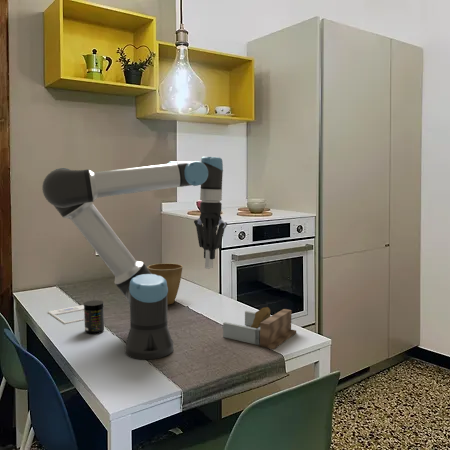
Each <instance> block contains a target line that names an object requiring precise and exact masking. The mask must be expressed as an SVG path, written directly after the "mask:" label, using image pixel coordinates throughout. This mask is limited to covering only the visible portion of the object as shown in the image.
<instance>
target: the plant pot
mask: <svg viewBox="0 0 450 450" xmlns="http://www.w3.org/2000/svg"><path fill="white" fill-rule="evenodd" d="M146 267H147V268H148V269H149V271H150V272H151V273H152V274H155V275H157V276H161V277H163V278H164V279H165V280H166V282H167V287H168V293H167V306H168V305H172V304H174V303H175V300H176V298H177V295H178V291H179V289H180V286H181V280H182V274H183V265H182V264H179V263H170V262H169V263H167V262H166V263H165V262H164V263H163V262H162V263H154V264H150V265H148V266H146Z"/></svg>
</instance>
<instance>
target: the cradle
mask: <svg viewBox="0 0 450 450" xmlns="http://www.w3.org/2000/svg"><path fill="white" fill-rule="evenodd" d="M255 313H256V312H254V311H249V310H246V311H244V325H240V324H236V323H231V322H227V321H224V322H223V323H222V337H223V338H225V339H229V340H235V341H239V342H242V343H243V342H244V343H249V344H252V345H256V346H260V327H259V328H257V329H256V328H252V327H251V325H252V324H253V321H254V318H255ZM271 316H272V315H271V314H270V317H271Z"/></svg>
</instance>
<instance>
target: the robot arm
mask: <svg viewBox="0 0 450 450" xmlns="http://www.w3.org/2000/svg"><path fill="white" fill-rule="evenodd" d="M223 166H224V165H223V159H222V158H221V157H220V156H219V157H218V156H202V157H201V159H200V161H198V160H192V161H187V160H186V161H181V160H180V161H178V160H176V161H175V160H174V161H168V163H164V164H155V165H154V164H153V165H148V166H146V165H144V166H139V167H137V166H136V167H129V168H128V167H127V168H120V169H111V170H110V169H109V170H103V171H93V170H90V169H80V170H79V169H77V170H76V169H69V168H64V167H63V168H62V167H61V168H55V169H54V170H52V171H50V173H48V174H47V175H46V176H45V177H44V179H43V182H42V186H41V187H42V194H43V196H44V198H45V200H46V202H48V203H49V204H50V205H52V206H53V207H54V208H55V209H56V211H57V212H58V213H59V215H60V216H61V217H62V218H63V219H67V220H68V219H69V220H70V221H72V223H73V225H74V226H75V227H76V228H77V229H78V231H79V232H80V233H81V234H82V237H84V238H85V239H86V242H87V243H89V245H90V246H91V248H93V250H94V251H95V252H96V253H97V255H98V256H99V258H100V259H101V260H102V261H103V262H104V264H105V265H106V267H108V269H109V270H110V272H111V274H113V276H114V284H115V286H116V287H117V288H118V289H119V291H120V292H121V293H122V295H123V296H124V298H126V300H127V302H128V304H129V312H130V313H129V321H130V325H129V331H128V334H127V338H126V342H125V345H124V352H125V353H124V354H125V355H126V356H128V357H130V358H132V359H136V360H155V359H156V360H157V359H161V358H165V357H166V356H169V355H171V353H173V352H174V341H173V339H172V336H171V333H170V330H169V325H168V324H169V322H168V312H169V311H168V305H167V293H168V287H167V282H166V280H165V279H164V278H163V277H161V276H157V275H155V274H152V273H151V272H150V271H149V269H148V268H147V267H148V266H147V265H145V263H144V262H143V261H140V260H136V258H135V257H134V256H133V254H132V253H131V252H130V250H129V249H128V248H127V246H125V244H124V243H123V241H122V240H121V239H120V238H119V236H118V235H117V233H116V232H115V230H113V228H112V227H111V225H110V224H109V223H108V222H107V220H106V219H105V218H104V216H103V215H102V213H101V212H100V211H99V210H98V208H97V207H96V206H95V204H94V202H95V201H96V200H97V199H99V198H105V197H111V196H113V197H114V196H120V195H128V194H135V193H143V192H144V193H145V192H151V191H159V190H165V189H175V188H184V187H190V186H192V187H195V186H197V187H198V186H200V192H199V194H200V195H199V197H200V198H199V199H200V201H201V202H200V203H199V212H200V215H199V218H197V219H195V220H193V223H194V225H195V228H196V235H197V240H198V245H199V248H202V249H203V259H204V260H205V261H204V262H205V263H204V269H208V270H209V269H214V260H215V258H216V256H215V255H216V250H219V249H221V246H222V241H223V237H224V233H225V229H226V227H227V226H228V223H227V222H224V221H223V218H222V215H221V213H222V208H223V207H222V202H221V201H222V200H223V199H222V198H223V197H222V196H223V195H222V194H223V176H224V175H223V174H224V167H223Z"/></svg>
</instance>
